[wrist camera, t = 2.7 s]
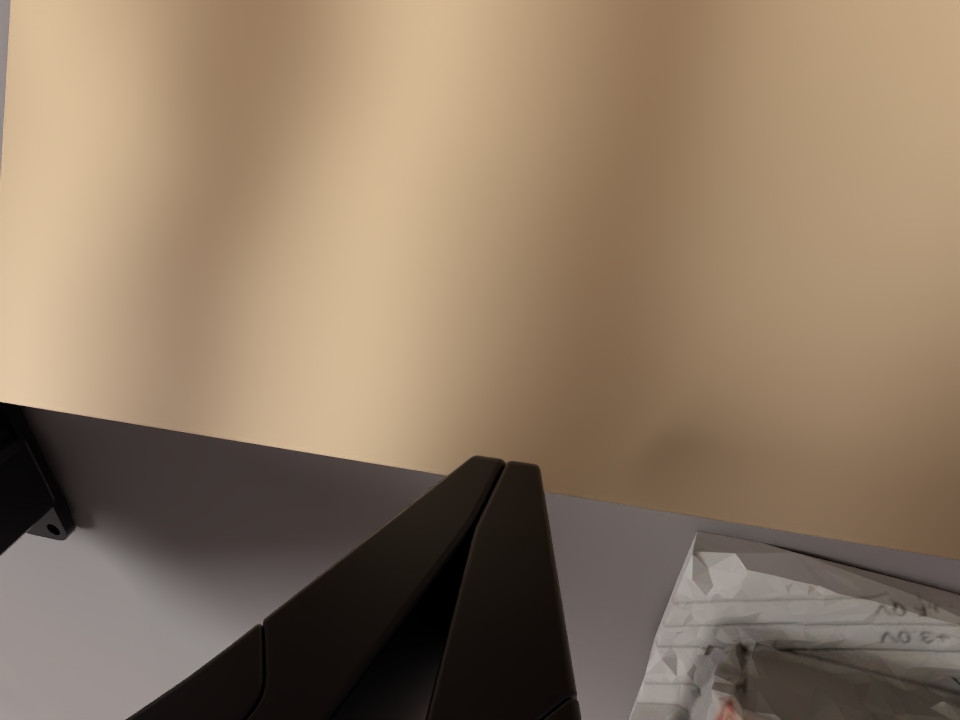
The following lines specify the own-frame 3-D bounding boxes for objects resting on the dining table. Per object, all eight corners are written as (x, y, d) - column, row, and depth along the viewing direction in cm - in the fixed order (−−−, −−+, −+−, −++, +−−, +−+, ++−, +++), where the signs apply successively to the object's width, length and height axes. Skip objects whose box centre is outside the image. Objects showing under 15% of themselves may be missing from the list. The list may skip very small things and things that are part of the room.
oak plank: (57, 392, 14) (-13, 400, 13) (80, 25, 14) (11, -13, 12) (1315, 590, 9) (1439, 639, 8) (1420, 18, 9) (1573, -47, 7)
